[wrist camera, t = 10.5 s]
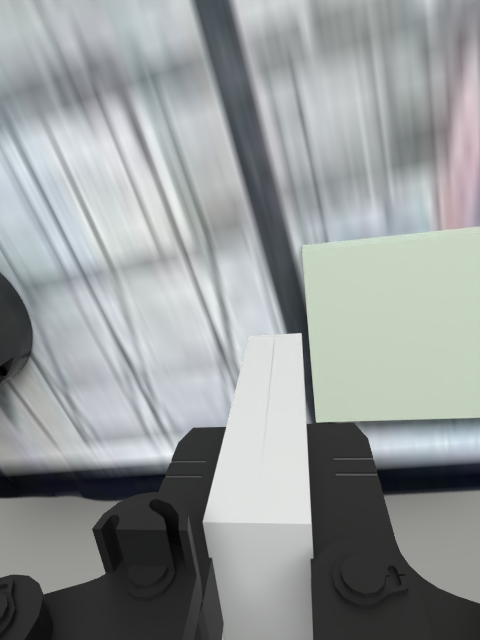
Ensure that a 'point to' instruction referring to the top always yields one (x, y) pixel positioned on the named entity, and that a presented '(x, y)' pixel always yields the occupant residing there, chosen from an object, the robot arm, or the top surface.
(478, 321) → the green
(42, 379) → the top surface
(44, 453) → the top surface
